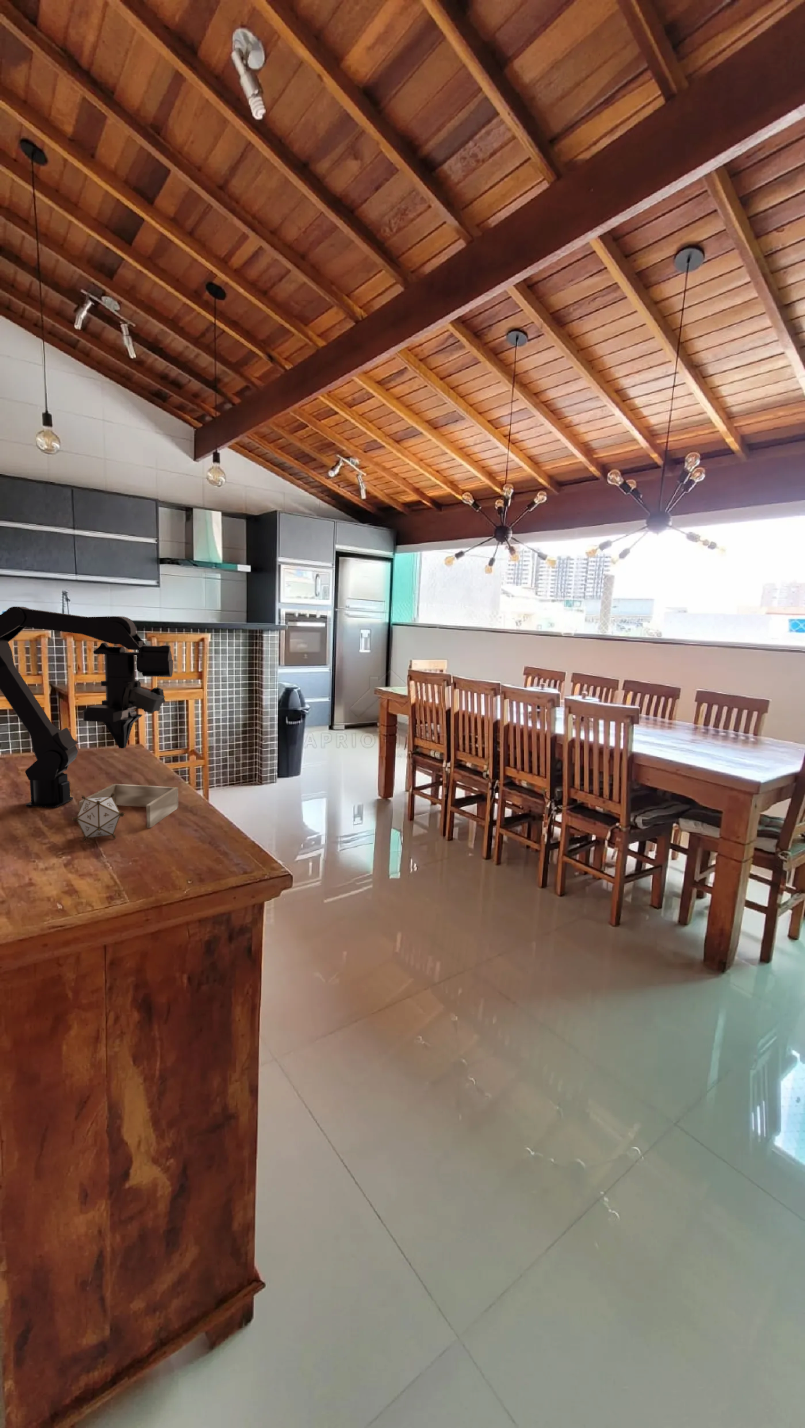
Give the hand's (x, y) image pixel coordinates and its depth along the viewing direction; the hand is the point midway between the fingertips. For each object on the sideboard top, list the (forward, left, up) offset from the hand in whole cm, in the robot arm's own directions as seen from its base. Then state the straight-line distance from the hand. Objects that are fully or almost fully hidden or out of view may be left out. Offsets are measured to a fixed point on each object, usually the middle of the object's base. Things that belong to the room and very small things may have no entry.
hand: (122, 748), depth 125 cm
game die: (+6, -21, -12) cm, 25 cm away
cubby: (+6, -9, -12) cm, 16 cm away
